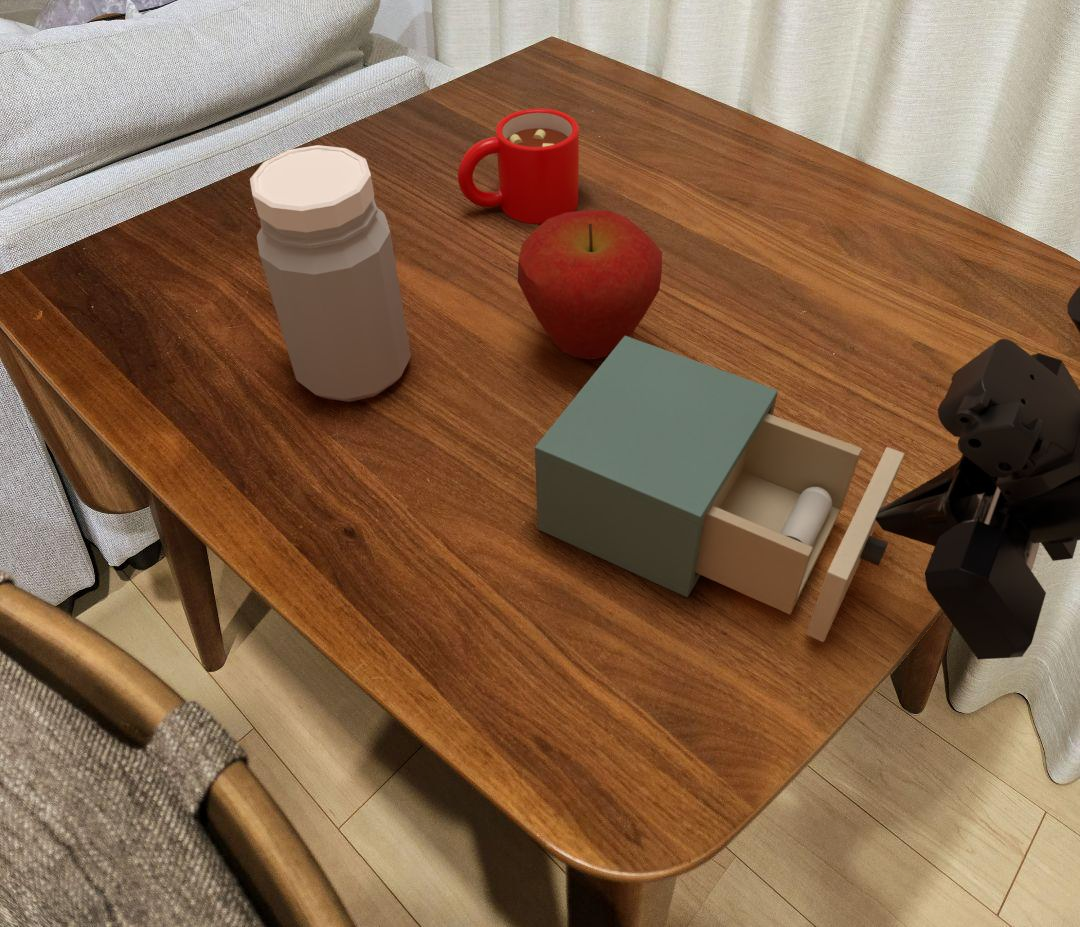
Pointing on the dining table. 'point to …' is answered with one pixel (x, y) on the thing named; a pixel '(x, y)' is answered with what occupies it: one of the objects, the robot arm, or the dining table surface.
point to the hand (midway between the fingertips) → (880, 520)
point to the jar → (331, 271)
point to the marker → (808, 515)
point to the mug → (528, 166)
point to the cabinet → (645, 459)
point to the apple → (589, 279)
